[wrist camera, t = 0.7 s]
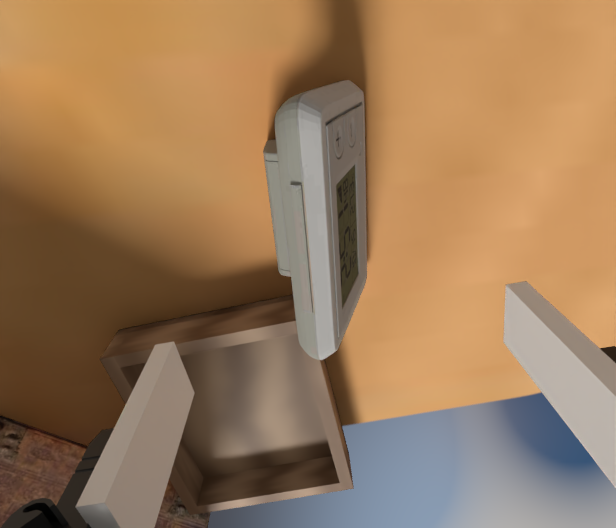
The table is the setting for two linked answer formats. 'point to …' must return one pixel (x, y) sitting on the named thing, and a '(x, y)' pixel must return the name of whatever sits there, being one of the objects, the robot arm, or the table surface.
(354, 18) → the table surface
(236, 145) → the table surface
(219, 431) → the brown rectangular tray
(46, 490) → the book
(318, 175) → the digital clock
